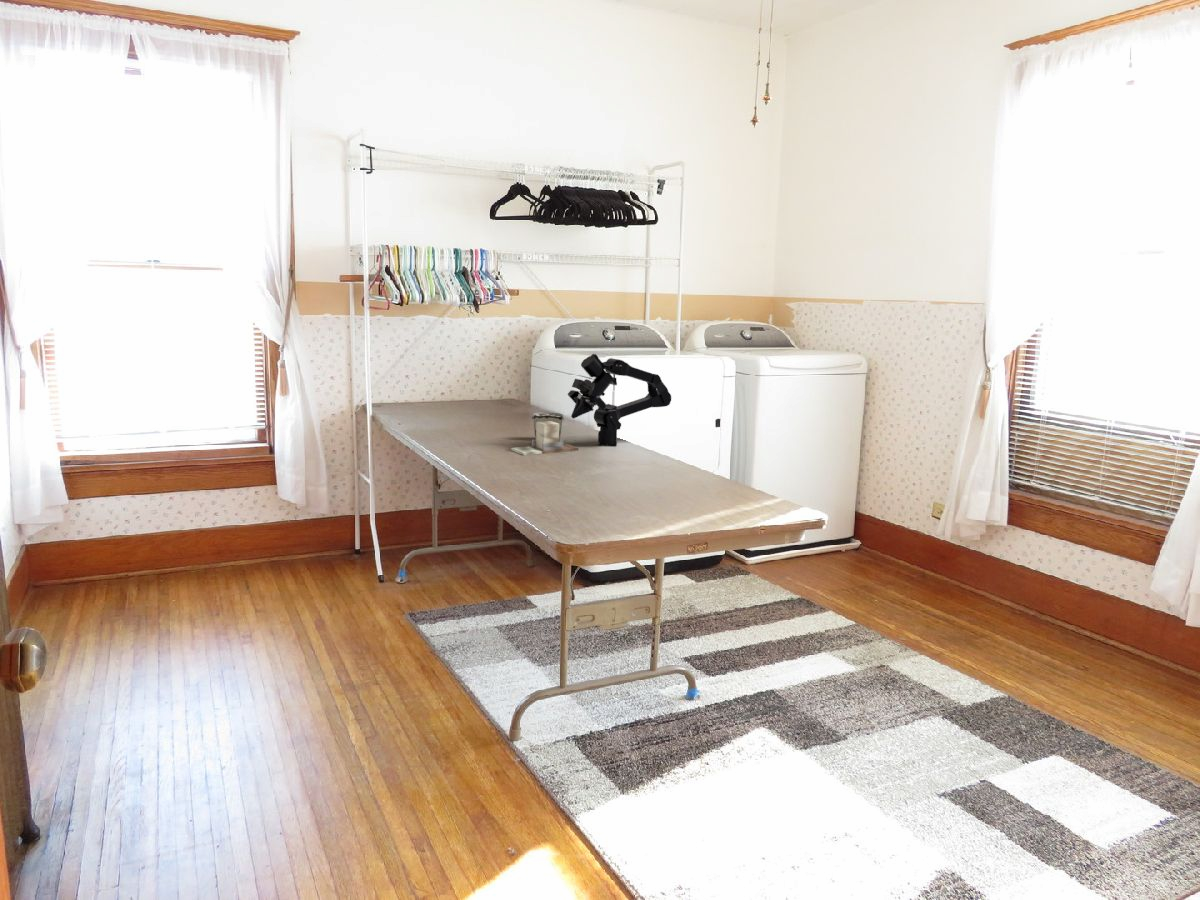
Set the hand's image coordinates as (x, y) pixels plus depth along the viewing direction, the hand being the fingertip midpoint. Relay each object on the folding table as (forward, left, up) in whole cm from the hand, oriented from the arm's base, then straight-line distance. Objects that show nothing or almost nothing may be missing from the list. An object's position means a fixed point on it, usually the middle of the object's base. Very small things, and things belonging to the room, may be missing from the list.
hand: (572, 417), depth 314 cm
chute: (+9, +6, -11) cm, 16 cm away
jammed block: (+8, +6, -10) cm, 14 cm away
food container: (+10, -16, -11) cm, 22 cm away
